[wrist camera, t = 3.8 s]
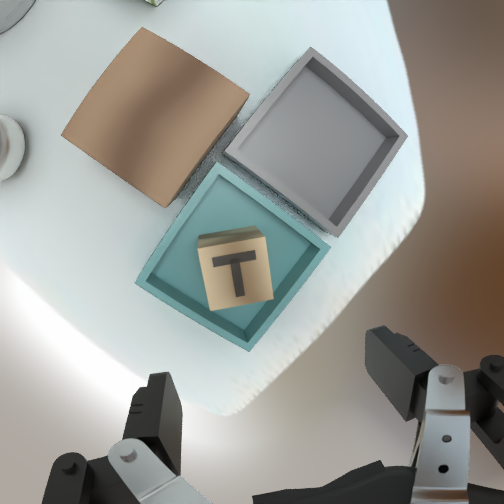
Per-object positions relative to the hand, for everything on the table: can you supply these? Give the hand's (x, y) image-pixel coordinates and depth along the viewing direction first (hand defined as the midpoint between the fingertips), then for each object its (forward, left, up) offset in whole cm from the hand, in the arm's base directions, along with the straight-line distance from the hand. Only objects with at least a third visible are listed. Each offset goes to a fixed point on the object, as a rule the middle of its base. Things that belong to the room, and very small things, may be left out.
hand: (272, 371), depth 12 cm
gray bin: (0, +13, -18) cm, 22 cm away
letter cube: (0, 0, -17) cm, 17 cm away
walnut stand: (-12, +6, -18) cm, 22 cm away
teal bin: (0, 0, -18) cm, 18 cm away
